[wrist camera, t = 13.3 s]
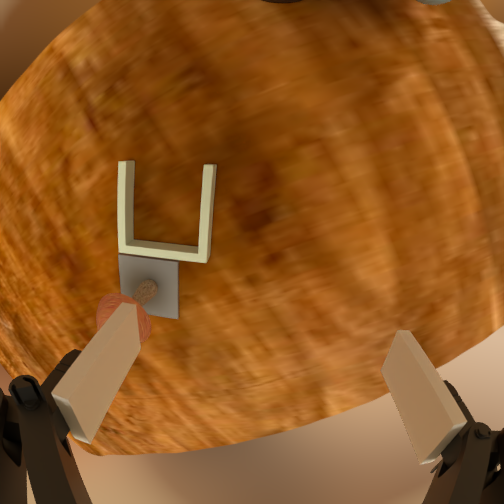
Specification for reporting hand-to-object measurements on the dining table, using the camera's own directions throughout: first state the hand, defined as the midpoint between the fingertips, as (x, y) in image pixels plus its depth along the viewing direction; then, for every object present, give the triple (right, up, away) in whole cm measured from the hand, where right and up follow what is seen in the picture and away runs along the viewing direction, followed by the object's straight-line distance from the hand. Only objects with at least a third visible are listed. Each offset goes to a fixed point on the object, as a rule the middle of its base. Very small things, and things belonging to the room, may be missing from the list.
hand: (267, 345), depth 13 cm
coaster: (-17, -1, +31) cm, 36 cm away
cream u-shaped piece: (-13, +11, +27) cm, 32 cm away
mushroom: (-17, -1, +31) cm, 35 cm away
